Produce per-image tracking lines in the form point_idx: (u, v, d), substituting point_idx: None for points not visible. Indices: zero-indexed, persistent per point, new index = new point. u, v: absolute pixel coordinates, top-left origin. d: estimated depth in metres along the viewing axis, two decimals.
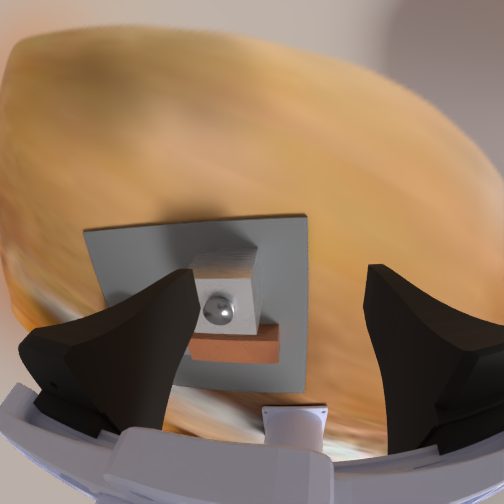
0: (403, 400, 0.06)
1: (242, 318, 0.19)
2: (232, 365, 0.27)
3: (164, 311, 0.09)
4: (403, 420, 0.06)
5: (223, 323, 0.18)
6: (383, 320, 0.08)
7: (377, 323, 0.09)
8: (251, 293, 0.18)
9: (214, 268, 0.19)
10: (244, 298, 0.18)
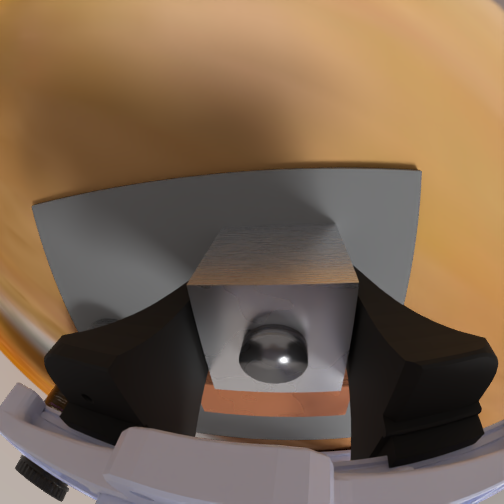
0: (361, 406, 0.06)
1: (320, 365, 0.08)
2: None
3: None
4: (361, 427, 0.06)
5: (282, 380, 0.08)
6: None
7: None
8: (352, 316, 0.07)
9: (263, 261, 0.08)
10: (335, 327, 0.08)
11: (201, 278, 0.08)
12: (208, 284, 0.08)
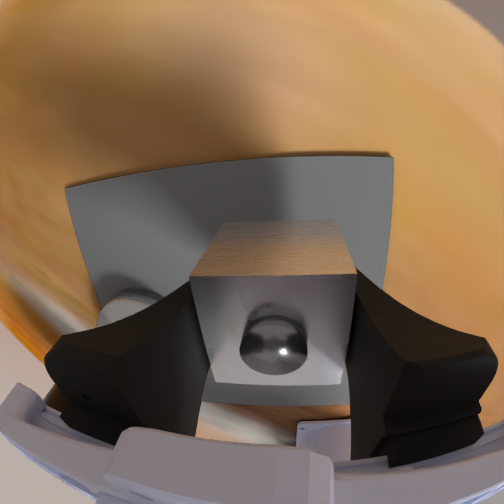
0: (361, 406, 0.06)
1: (320, 358, 0.09)
2: None
3: None
4: (361, 426, 0.06)
5: (282, 371, 0.08)
6: None
7: None
8: (351, 307, 0.08)
9: (263, 254, 0.09)
10: (334, 318, 0.08)
11: (203, 270, 0.08)
12: (210, 275, 0.08)
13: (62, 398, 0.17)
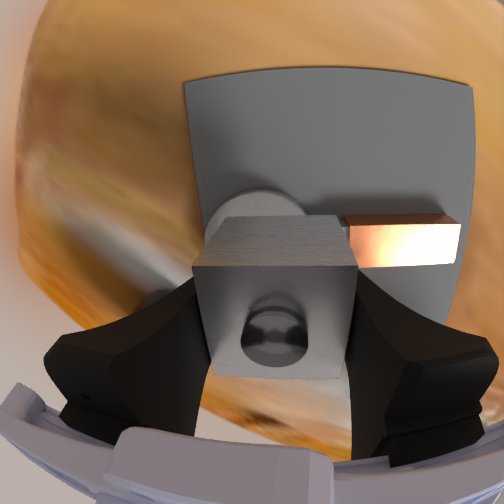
0: (362, 405, 0.06)
1: (320, 351, 0.09)
2: (379, 286, 0.20)
3: (197, 313, 0.09)
4: (362, 426, 0.06)
5: (283, 363, 0.08)
6: None
7: None
8: (352, 299, 0.08)
9: (266, 245, 0.09)
10: (335, 311, 0.08)
11: (206, 260, 0.08)
12: (213, 265, 0.08)
13: None
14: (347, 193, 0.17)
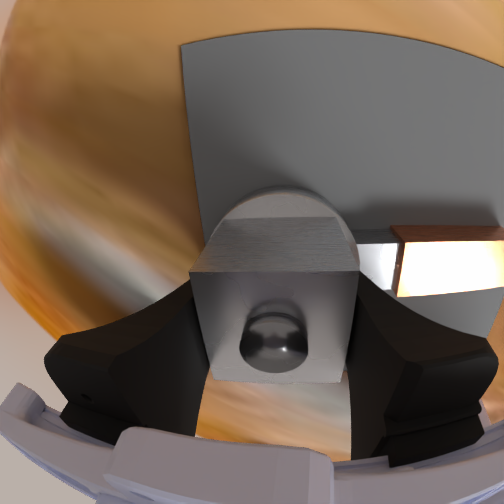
0: (362, 406, 0.06)
1: (320, 356, 0.08)
2: (421, 312, 0.15)
3: None
4: (362, 427, 0.06)
5: (282, 369, 0.08)
6: None
7: None
8: (352, 305, 0.08)
9: (264, 250, 0.09)
10: (335, 316, 0.08)
11: (203, 265, 0.08)
12: (210, 271, 0.08)
13: None
14: (397, 197, 0.12)
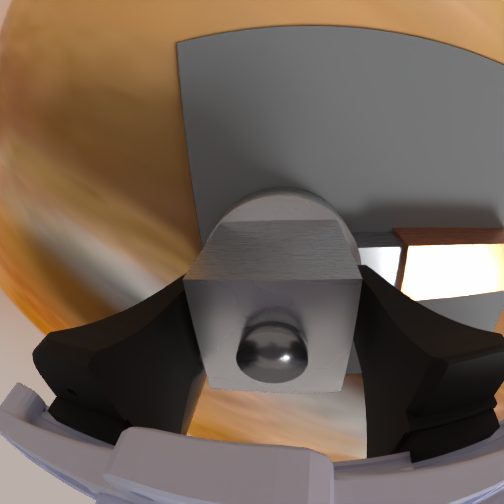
0: (380, 403, 0.06)
1: (320, 365, 0.08)
2: None
3: (183, 312, 0.09)
4: (380, 424, 0.06)
5: (281, 379, 0.08)
6: (363, 321, 0.09)
7: (358, 324, 0.09)
8: (354, 314, 0.07)
9: (262, 255, 0.08)
10: (336, 325, 0.07)
11: (198, 272, 0.08)
12: (205, 278, 0.07)
13: None
14: (400, 199, 0.12)
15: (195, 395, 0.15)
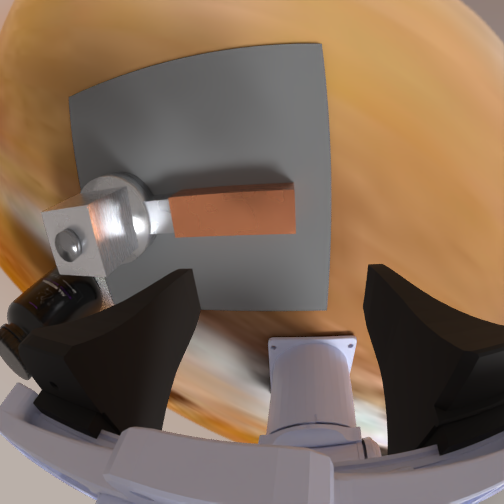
0: (403, 400, 0.06)
1: (90, 255, 0.15)
2: (230, 260, 0.21)
3: (164, 311, 0.09)
4: (403, 420, 0.06)
5: (71, 259, 0.15)
6: (383, 320, 0.08)
7: (377, 323, 0.09)
8: (91, 223, 0.14)
9: (71, 202, 0.15)
10: (86, 230, 0.14)
11: (47, 209, 0.15)
12: (46, 211, 0.14)
13: (32, 293, 0.18)
14: (181, 170, 0.19)
15: (83, 309, 0.22)
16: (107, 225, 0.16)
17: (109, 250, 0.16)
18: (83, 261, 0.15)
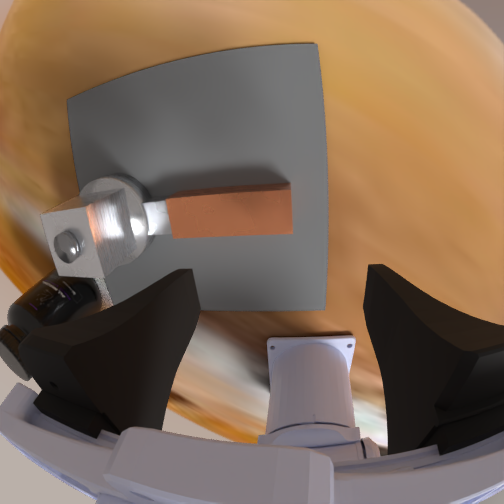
0: (403, 400, 0.06)
1: (88, 257, 0.15)
2: (228, 261, 0.21)
3: (164, 311, 0.09)
4: (403, 420, 0.06)
5: (70, 260, 0.15)
6: (383, 320, 0.08)
7: (377, 323, 0.09)
8: (89, 225, 0.14)
9: (70, 204, 0.15)
10: (85, 231, 0.14)
11: (46, 211, 0.15)
12: (45, 213, 0.14)
13: (32, 295, 0.18)
14: (178, 171, 0.19)
15: (83, 310, 0.22)
16: (105, 227, 0.16)
17: (107, 251, 0.16)
18: (82, 262, 0.15)
